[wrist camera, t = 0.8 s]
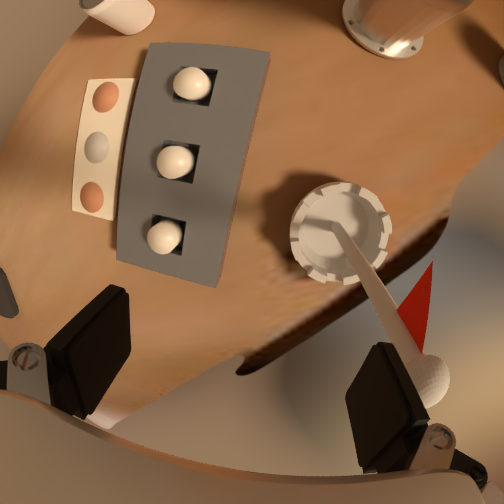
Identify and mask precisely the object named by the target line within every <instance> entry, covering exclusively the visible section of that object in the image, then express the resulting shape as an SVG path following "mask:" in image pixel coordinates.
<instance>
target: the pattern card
mask: <svg viewBox="0 0 504 504" xmlns="http://www.w3.org/2000/svg"><path fill="white" fill-rule="evenodd" d="M136 83H137V79H134V78H121V79H95V80H88V84H87V89H86V93H85V98H84V102H83V107H82V113H81V118H80V124H79V131H78V137H77V145H76V153H75V163H74V175H73V191H72V210H73V211H77V212H80V213H84V214H88V215H92V216H96V217H100V218H104V219H108V220H112V221H113V220H115V219H116V207H117V195H118V185H119V176H120V168H121V160H122V153H123V147H124V140H125V135H126V129H127V124H128V118H129V113H130V109H131V104H132V99H133V95H134V91H135V87H136Z"/></svg>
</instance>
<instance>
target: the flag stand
mask: <svg viewBox="0 0 504 504" xmlns="http://www.w3.org/2000/svg"><path fill="white" fill-rule="evenodd" d="M389 234H392V224H391V220H390V216H389V214H388V213H386V212H385V210H384V208H383V206H382V204H381V203H380V201H379V200H378V197H377V196H375V195H374V194H373V193H372V192H371V191H369V190H367V189H365V188H363V187H361V186H359V185H357V184H353V183H350V182H339V181H337V182H331V183H326V184H323V185H321V186H318V187H317V188H315V189H313V190H312V191H310V192H309V193H308V194H307V195H306V196H305V197H304V198H303V199H302V200H301V201H300V203H299V204H298V205H297V207H296V209H295V211H294V213H293V216H292V219H291V224H290V243H291V248H292V253H293V255H294V257H295V260H298V262H299V263H300V265H301V266H302V267H303V268H304V269H305V270H306V271H307V272H308V276H310V277H312V278H313V279H315V280H317V281H319V282H322V283H324V284H325V282H326V280H328V281H342V283H343V285H347V284H353V283H355V282H358V281H361V283H362V285H363V287H364V289H365V290H366V292H367V294H368V296H369V298H370V300H371V302H372V304H373V306H374V308H375V310H376V312H377V314H378V316H379V318H380V320H381V322H382V324H383V326H384V328H385V330H386V332H387V334H388V337H389V339H390V341H391V343H392V344H393V345H394V346H395V348H396V350H397V352H398V354H399V356H400V358H401V360H402V361H403V363H404V365H405V367H406V369H407V371H408V373H409V375H410V377H411V379H412V381H413V383H414V385H415V387H416V390H417V392H418V394H419V396H420V398H421V400H422V402H423V404H424V407H425V409H426V408H429V407H431V406H433V405H435V404H436V403H438V402H439V401H440V400H441V399H442V398H443V396H444V395H445V393H446V391H447V389H448V386H449V381H450V375H449V370H448V367H447V365H446V364H445V363H444V361H443V360H441V359H440V358H438V357H436V356H433V355H426V354H425V352H424V351H423V345H424V339H425V333H426V327H427V320H428V311H429V303H430V293H431V281H432V265H433V264H432V263H433V262H432V263H431V264H430V266H429V267H428V268H427V270H426V271H425V273H424V274H423V275H422V277H421V278H420V280H419V281H418V282H417V284H416V285H415V287H414V288H413V289H412V291H411V292H410V293H409V295H408V296H407V297H406V298H405V300H404V301H403V302H402V304H401V305H400V306H399V307H397V305H396V304H395V302H394V300H393V299H392V297H391V295H390V294H389V292H388V291H387V289H386V288H385V286H384V285H383V283H382V282H381V280H380V279H379V277H378V276H377V274H376V273H375V271H374V270H373V268H372V267H373V266H375V267H376V268H378V267H379V266H380V265H381V263H382V262H383V261H384V259H385V257H386V255H387V253H388V252H387V251H386V250H385V248H386V245H387V241H388V235H389Z"/></svg>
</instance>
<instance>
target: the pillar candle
mask: <svg viewBox="0 0 504 504" xmlns="http://www.w3.org/2000/svg"><path fill="white" fill-rule="evenodd" d="M498 68H499V74H500V77H501V81H502V83H503V85H504V55H503V56H502V57H500V59H499V63H498Z"/></svg>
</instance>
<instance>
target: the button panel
mask: <svg viewBox="0 0 504 504" xmlns="http://www.w3.org/2000/svg"><path fill="white" fill-rule="evenodd" d="M269 64H270V54H269V52H264V51H258V50H252V49H246V48H238V47H230V46H221V45H210V44H196V43H150V45H149V48H148V52H147V55H146V58H145V62H144V65H143V69H142V73H141V76H140V80H139V84H138V88H137V92H136V97H135V101H134V106H133V110H132V115H131V120H130V125H129V131H128V137H127V143H126V149H125V155H124V163H123V170H122V178H121V188H120V198H119V210H118V225H117V250H116V260H119V261H122V262H126V263H129V264H132V265H136V266H139V267H142V268H146V269H149V270H152V271H156V272H159V273H163V274H166V275H170V276H173V277H177V278H180V279H184V280H188V281H191V282H195V283H199V284H202V285H206V286H210V287H213V288H216V286H217V284H218V282H219V280H220V277H221V273H222V268H223V263H224V258H225V253H226V248H227V243H228V239H229V234H230V229H231V224H232V220H233V215H234V210H235V206H236V201H237V197H238V192H239V188H240V183H241V179H242V174H243V170H244V166H245V161H246V157H247V153H248V149H249V144H250V140H251V136H252V132H253V127H254V123H255V119H256V115H257V111H258V107H259V103H260V99H261V95H262V91H263V87H264V83H265V79H266V75H267V71H268V68H269ZM188 67H196V68H199V69H200V70H202V71H203V72H204V73H205V74H206V75H207V76H208V77H209V78H210V79H211V81H212V90H211V92H210V94H209V95H208V96H207V97H206V98H205V99H203V100H201V101H197V102H193V101H189V100H187V99H185V98H183V97H181V96H179V95H178V94H177V93H176V92H175V91H174V88H173V82H174V78H175V76H176V75H177V74H178V73H179V72H180V71H181V70H183V69H185V68H188ZM169 146H186V147H188V148H190V149H191V150H192V151H193V153H194V155H195V166H194V168H193V170H192V171H191V172H190V173H189V174H187V175H184V176H181V177H178V178H175V179H168V178H166V177H164V176H162V175H161V174H160V172H159V170H158V168H157V158H158V155H159V153H160V152H161V151H162V150H163V149H164V148H166V147H169ZM168 218H169V219H174V220H176V221H177V222H178V223H179V224H180V225H181V227H182V230H183V238H182V240H181V242H180V243H179V244H178V245H177V246H176V247H175V248H174V249H173V250H172V251H171V252H170V253H168V254H158V253H156V252H154V251H153V250H152V249H151V248H150V246H149V244H148V241H147V234H148V232H149V230H150V229H151V228H152V227H153V226H155V225H156V224H157V223H159V222H160V221H162V220H164V219H168Z"/></svg>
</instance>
